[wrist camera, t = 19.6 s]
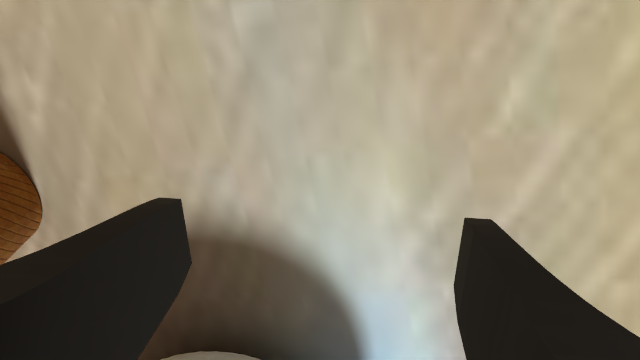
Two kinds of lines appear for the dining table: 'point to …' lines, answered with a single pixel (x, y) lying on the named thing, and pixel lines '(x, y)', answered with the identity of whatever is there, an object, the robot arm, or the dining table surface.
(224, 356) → the cereal bowl
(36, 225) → the disposable coffee cup
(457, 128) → the dining table surface
